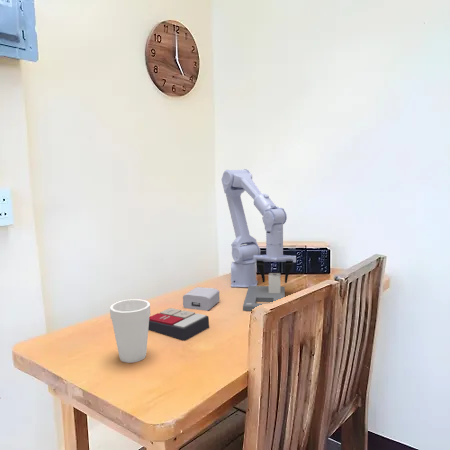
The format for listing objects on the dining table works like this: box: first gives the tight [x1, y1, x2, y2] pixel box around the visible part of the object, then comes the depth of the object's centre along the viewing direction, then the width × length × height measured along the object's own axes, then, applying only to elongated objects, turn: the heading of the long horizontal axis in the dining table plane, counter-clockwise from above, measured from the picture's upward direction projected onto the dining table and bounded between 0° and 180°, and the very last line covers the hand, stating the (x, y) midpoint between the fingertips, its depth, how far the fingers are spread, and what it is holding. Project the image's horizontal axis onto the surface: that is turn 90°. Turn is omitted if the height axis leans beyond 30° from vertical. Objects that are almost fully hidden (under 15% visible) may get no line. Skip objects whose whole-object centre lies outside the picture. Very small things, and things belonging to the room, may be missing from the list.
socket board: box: [242, 285, 286, 312], centre depth 141 cm, size 13×22×2 cm, turn 172°
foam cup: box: [109, 298, 151, 364], centre depth 101 cm, size 10×9×13 cm
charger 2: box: [268, 272, 281, 293], centre depth 145 cm, size 4×4×6 cm
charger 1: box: [182, 286, 220, 312], centre depth 140 cm, size 5×9×15 cm
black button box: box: [148, 307, 210, 342], centre depth 119 cm, size 11×4×15 cm
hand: (274, 281), depth 145 cm, fingers open, 7 cm apart
